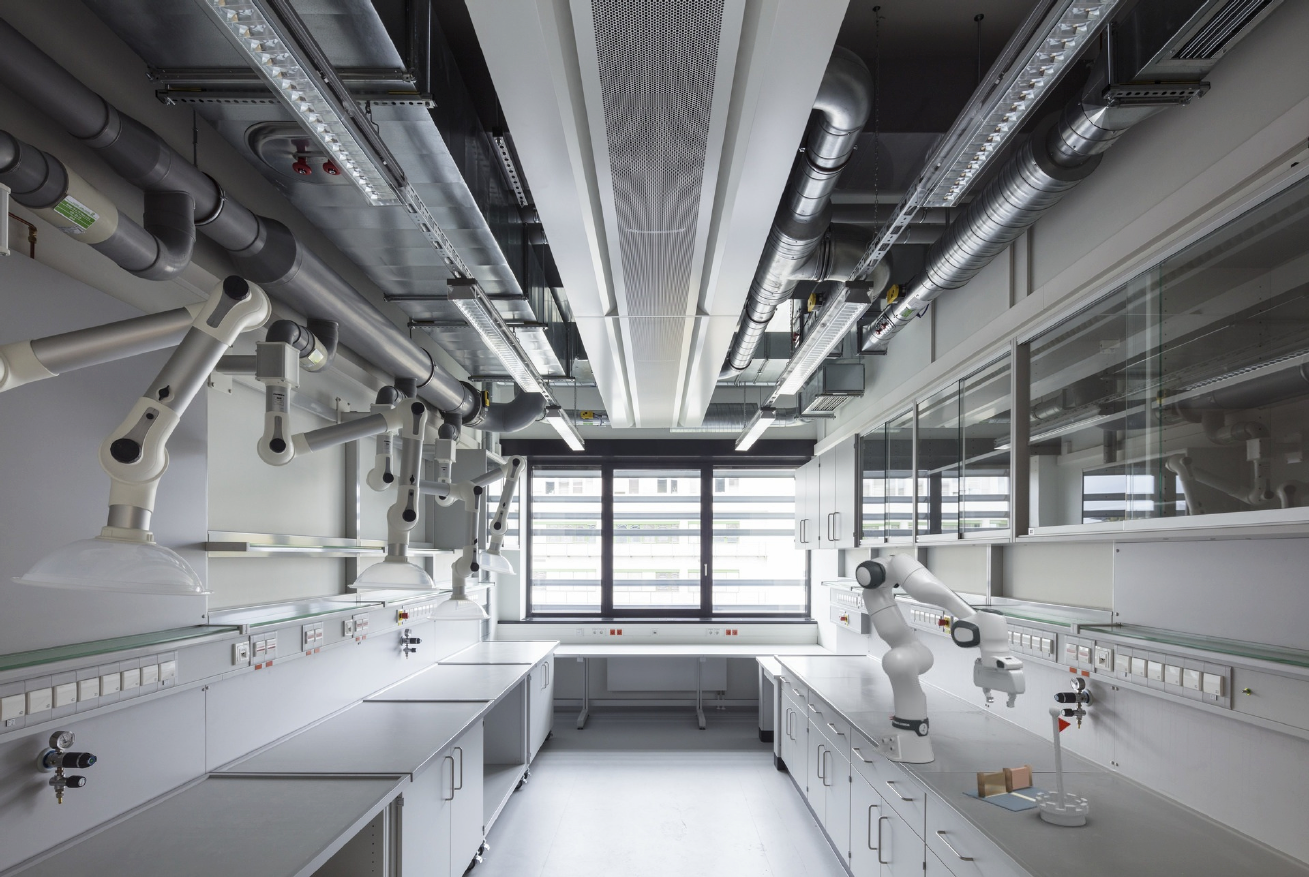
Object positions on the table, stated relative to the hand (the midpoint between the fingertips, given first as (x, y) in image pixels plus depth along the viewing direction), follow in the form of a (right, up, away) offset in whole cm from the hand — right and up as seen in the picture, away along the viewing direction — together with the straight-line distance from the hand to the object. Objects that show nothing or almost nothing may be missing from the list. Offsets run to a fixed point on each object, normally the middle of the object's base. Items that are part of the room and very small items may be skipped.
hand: (1000, 704), depth 250 cm
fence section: (+3, -22, -9) cm, 24 cm away
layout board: (-2, -23, -15) cm, 27 cm away
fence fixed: (-8, -22, -14) cm, 27 cm away
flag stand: (+2, -20, -34) cm, 40 cm away
